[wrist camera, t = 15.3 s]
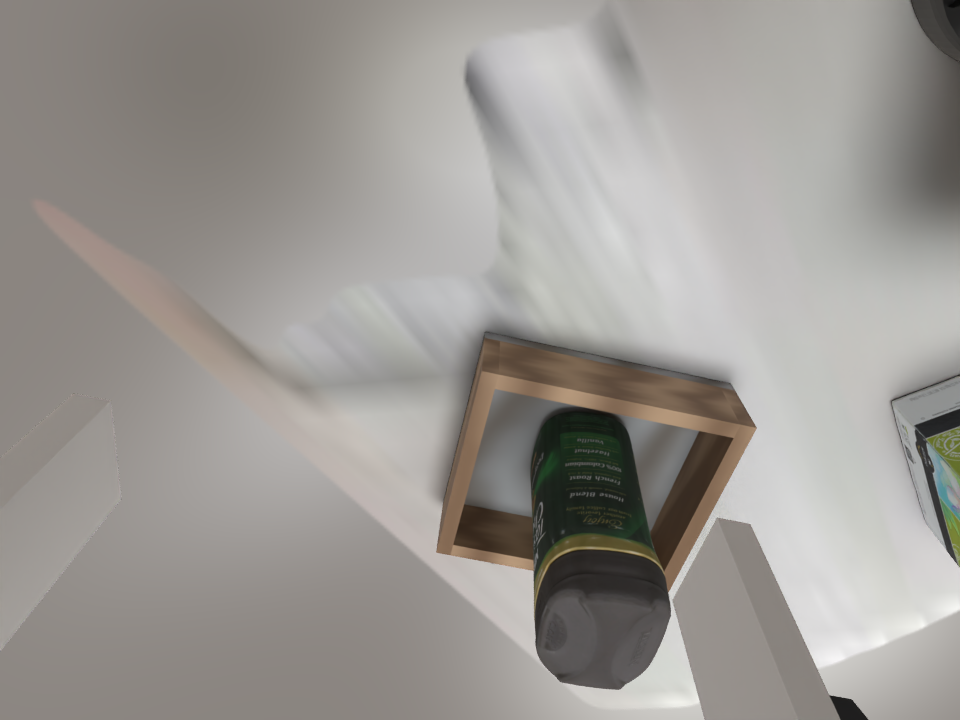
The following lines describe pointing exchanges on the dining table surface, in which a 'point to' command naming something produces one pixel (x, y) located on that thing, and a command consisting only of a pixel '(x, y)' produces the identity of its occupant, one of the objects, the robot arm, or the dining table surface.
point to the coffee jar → (593, 555)
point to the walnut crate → (601, 390)
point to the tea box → (935, 456)
